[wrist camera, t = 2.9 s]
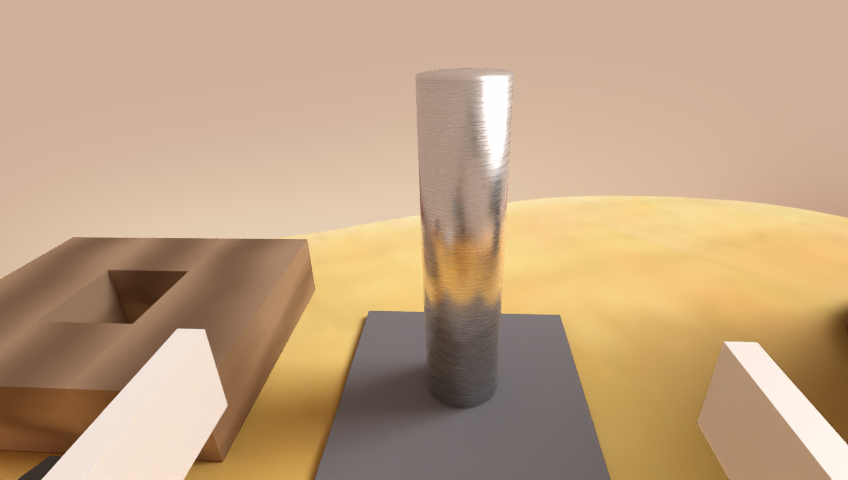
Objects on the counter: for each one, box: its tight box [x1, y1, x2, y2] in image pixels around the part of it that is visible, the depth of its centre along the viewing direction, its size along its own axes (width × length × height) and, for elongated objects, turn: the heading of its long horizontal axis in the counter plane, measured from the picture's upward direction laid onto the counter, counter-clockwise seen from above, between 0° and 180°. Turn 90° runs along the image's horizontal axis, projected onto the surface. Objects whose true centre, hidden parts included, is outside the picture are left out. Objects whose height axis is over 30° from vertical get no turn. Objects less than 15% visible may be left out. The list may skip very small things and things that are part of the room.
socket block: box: [0, 237, 315, 462], centre depth 26 cm, size 17×14×4 cm
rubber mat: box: [315, 311, 610, 480], centre depth 24 cm, size 12×12×1 cm
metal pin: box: [416, 68, 514, 408], centre depth 20 cm, size 4×4×15 cm
